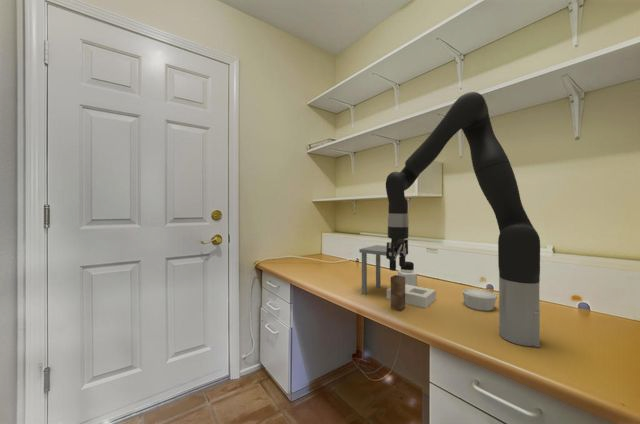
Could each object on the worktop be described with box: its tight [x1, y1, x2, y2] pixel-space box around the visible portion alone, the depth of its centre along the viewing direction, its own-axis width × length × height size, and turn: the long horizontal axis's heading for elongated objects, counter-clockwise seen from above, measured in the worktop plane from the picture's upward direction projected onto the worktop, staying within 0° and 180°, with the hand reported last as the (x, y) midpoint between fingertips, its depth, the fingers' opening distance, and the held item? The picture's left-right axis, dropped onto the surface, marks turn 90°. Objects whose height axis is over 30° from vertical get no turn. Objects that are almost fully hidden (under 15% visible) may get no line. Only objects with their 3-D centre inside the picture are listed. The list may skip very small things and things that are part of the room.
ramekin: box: [461, 288, 498, 312], centre depth 98 cm, size 11×11×5 cm
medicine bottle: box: [397, 260, 418, 287], centre depth 124 cm, size 7×7×12 cm
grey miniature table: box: [358, 244, 390, 296], centre depth 115 cm, size 14×16×20 cm
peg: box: [390, 274, 406, 312], centre depth 96 cm, size 4×4×12 cm
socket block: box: [386, 284, 437, 309], centre depth 106 cm, size 16×12×4 cm
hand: (397, 268), depth 96 cm, fingers open, 8 cm apart
